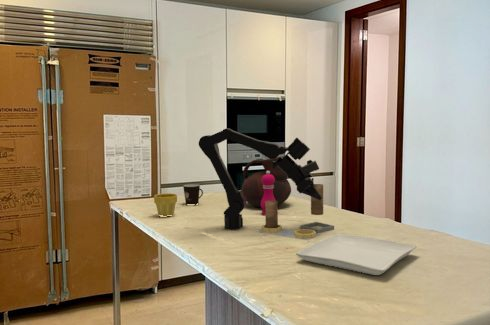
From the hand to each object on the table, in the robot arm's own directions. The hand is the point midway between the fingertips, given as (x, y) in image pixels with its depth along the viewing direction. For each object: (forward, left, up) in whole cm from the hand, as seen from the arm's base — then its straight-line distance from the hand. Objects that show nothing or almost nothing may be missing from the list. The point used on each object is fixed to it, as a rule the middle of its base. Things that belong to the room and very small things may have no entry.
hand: (320, 197), depth 162 cm
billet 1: (-15, +11, -12) cm, 22 cm away
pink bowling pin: (+7, +38, -13) cm, 41 cm away
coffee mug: (-7, +82, -13) cm, 83 cm away
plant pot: (-30, +67, -13) cm, 75 cm away
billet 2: (-1, +1, -6) cm, 6 cm away
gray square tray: (-1, +1, -13) cm, 13 cm away
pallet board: (-13, +4, -13) cm, 19 cm away
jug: (+19, +54, -13) cm, 59 cm away
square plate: (-15, -29, -14) cm, 36 cm away
